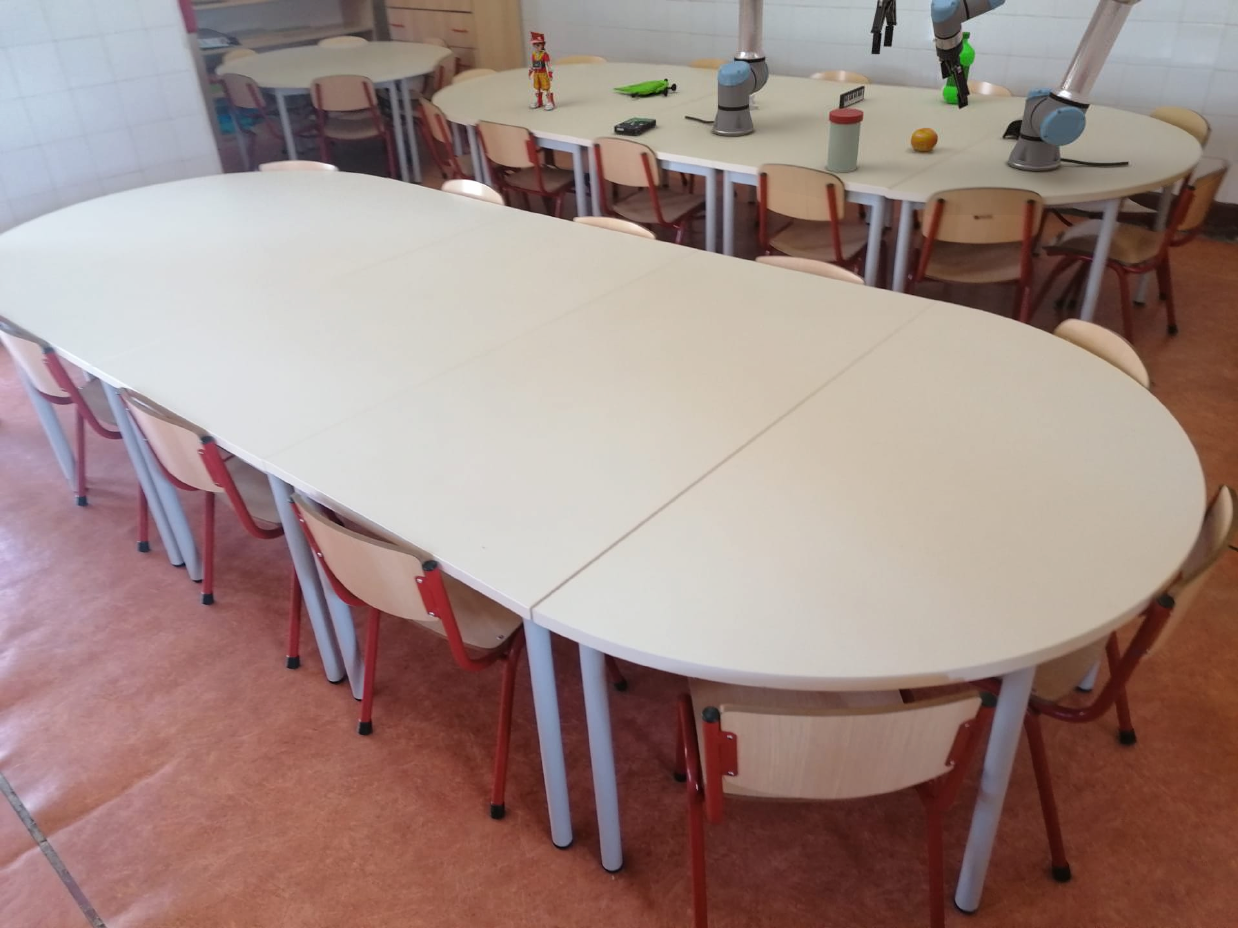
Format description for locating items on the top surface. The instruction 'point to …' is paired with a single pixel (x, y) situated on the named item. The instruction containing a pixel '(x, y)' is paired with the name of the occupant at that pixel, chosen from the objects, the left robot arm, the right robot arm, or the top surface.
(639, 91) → the toy
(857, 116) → the lid
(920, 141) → the fruit
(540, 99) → the toy
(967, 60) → the plastic bottle
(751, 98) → the anatomical model
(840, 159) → the jar
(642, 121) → the disk drive
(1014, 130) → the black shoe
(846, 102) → the midi keyboard
